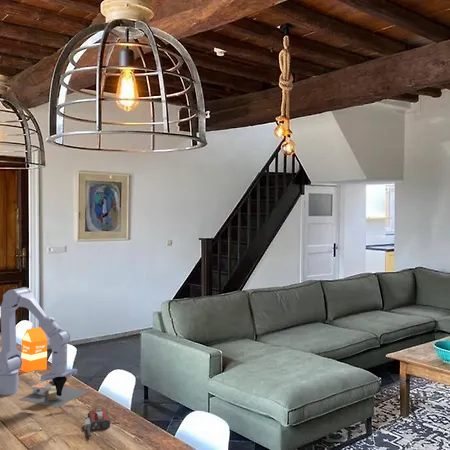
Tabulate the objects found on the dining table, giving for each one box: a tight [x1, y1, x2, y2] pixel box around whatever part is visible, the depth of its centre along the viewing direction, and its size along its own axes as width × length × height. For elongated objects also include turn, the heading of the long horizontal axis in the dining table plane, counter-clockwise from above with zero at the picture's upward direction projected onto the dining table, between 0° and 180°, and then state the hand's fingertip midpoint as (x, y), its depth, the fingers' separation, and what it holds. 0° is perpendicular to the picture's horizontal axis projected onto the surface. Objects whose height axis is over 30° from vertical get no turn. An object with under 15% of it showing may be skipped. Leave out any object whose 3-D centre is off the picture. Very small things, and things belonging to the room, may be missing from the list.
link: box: [48, 380, 57, 401], centre depth 204 cm, size 14×3×4 cm, turn 18°
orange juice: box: [20, 326, 48, 373], centre depth 240 cm, size 8×9×20 cm
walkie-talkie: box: [83, 408, 111, 438], centre depth 177 cm, size 9×4×20 cm
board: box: [18, 386, 90, 408], centre depth 204 cm, size 19×20×1 cm
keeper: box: [30, 383, 52, 395], centre depth 205 cm, size 4×7×4 cm, turn 78°
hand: (58, 395), depth 201 cm, fingers closed, pressing on link
